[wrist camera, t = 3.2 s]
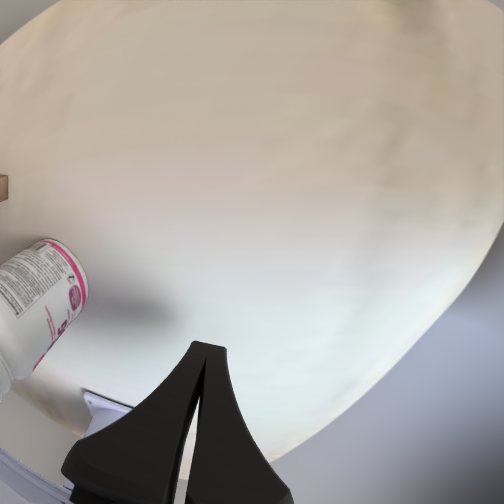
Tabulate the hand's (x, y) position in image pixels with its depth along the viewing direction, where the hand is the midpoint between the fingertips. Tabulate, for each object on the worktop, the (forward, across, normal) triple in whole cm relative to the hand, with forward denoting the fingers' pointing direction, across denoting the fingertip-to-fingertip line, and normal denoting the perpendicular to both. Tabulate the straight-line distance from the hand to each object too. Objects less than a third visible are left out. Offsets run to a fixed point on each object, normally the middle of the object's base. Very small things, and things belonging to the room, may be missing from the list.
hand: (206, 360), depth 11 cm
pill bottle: (+3, +9, 0) cm, 10 cm away
